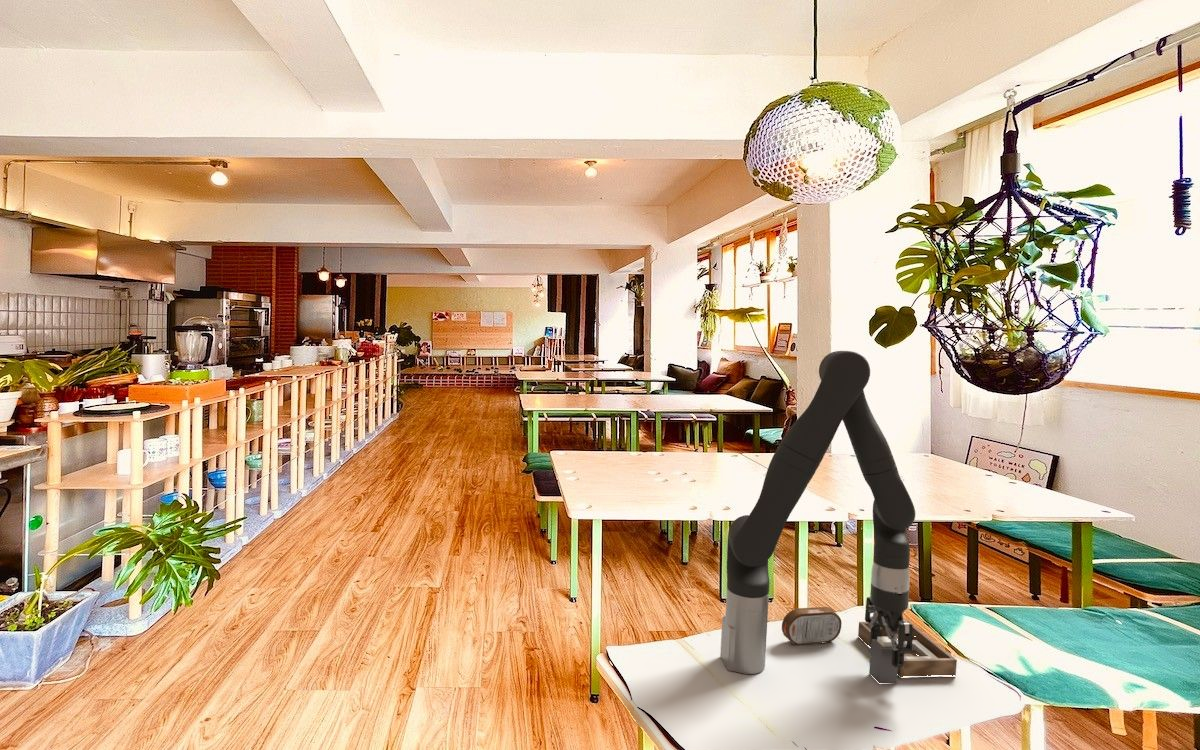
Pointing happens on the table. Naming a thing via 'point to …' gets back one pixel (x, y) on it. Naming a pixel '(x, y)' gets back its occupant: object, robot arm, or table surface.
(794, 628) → the tin
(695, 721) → the table surface
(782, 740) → the table surface
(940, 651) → the box
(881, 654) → the connector
